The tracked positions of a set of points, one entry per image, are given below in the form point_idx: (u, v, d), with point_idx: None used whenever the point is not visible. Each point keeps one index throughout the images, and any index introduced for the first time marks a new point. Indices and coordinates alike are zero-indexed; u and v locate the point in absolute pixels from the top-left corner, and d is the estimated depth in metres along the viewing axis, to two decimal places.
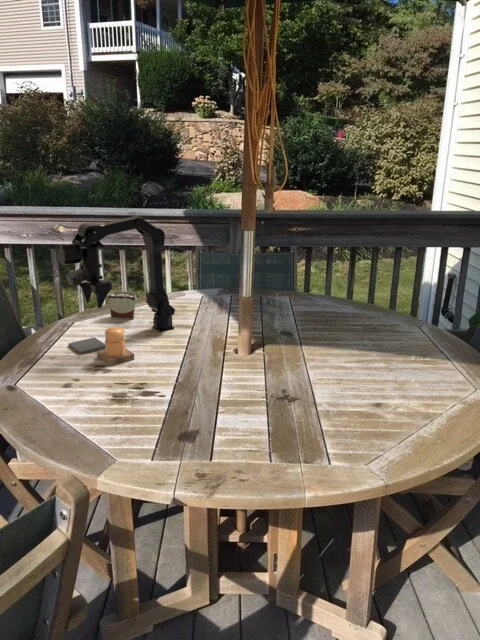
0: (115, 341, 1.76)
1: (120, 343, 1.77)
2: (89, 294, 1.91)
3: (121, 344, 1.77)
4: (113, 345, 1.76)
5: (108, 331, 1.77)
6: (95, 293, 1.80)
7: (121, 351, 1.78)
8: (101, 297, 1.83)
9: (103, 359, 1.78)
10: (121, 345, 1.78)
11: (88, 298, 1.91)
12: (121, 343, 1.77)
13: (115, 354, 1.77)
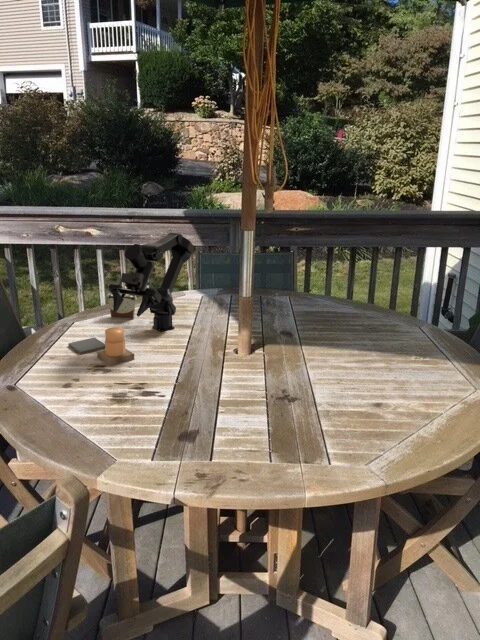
0: (115, 341, 1.76)
1: (120, 343, 1.77)
2: (118, 306, 1.86)
3: (121, 344, 1.77)
4: (113, 345, 1.76)
5: (108, 331, 1.77)
6: (147, 298, 1.81)
7: (121, 351, 1.78)
8: (145, 306, 1.83)
9: (103, 359, 1.78)
10: (121, 345, 1.78)
11: (116, 309, 1.85)
12: (121, 343, 1.77)
13: (115, 354, 1.77)
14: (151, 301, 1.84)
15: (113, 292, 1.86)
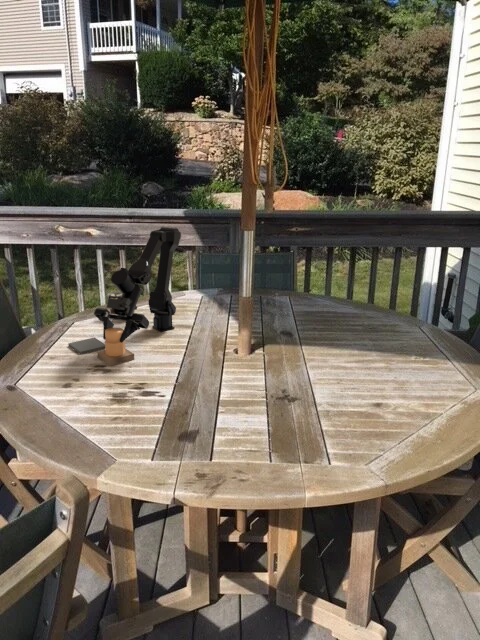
0: (115, 341, 1.76)
1: (120, 343, 1.77)
2: None
3: (121, 344, 1.77)
4: (113, 345, 1.76)
5: (108, 331, 1.77)
6: (130, 323, 1.76)
7: (121, 351, 1.78)
8: (128, 332, 1.78)
9: (103, 359, 1.78)
10: (121, 345, 1.78)
11: None
12: (121, 343, 1.77)
13: (115, 354, 1.77)
14: (135, 326, 1.79)
15: (103, 318, 1.79)
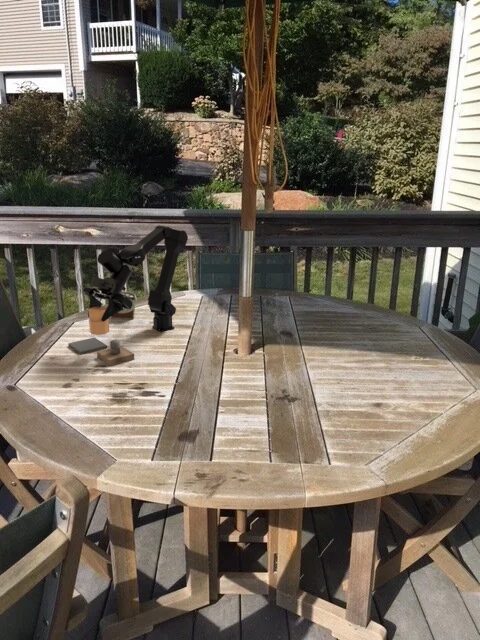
0: (97, 320, 1.77)
1: (102, 322, 1.78)
2: None
3: (103, 323, 1.78)
4: (95, 323, 1.78)
5: (92, 309, 1.78)
6: (112, 303, 1.77)
7: (103, 330, 1.79)
8: (111, 311, 1.78)
9: (103, 359, 1.78)
10: (103, 324, 1.78)
11: None
12: (103, 322, 1.78)
13: (97, 333, 1.78)
14: (118, 306, 1.79)
15: (90, 296, 1.82)
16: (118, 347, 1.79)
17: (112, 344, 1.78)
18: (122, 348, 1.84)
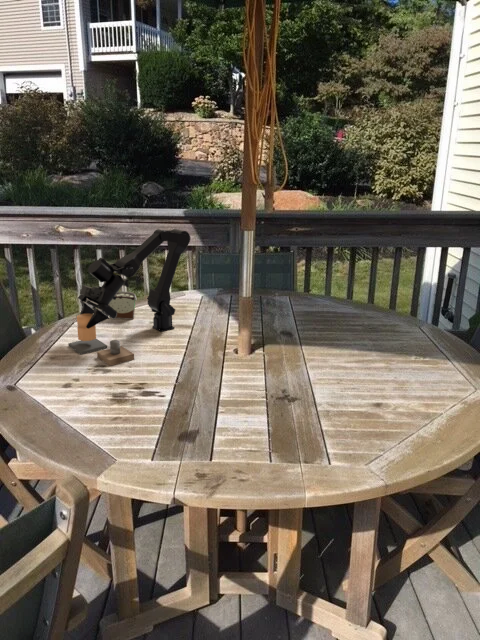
0: (82, 326, 1.84)
1: (87, 329, 1.85)
2: None
3: (88, 330, 1.85)
4: (80, 330, 1.85)
5: (80, 316, 1.86)
6: (96, 311, 1.82)
7: (88, 337, 1.86)
8: (96, 319, 1.84)
9: (103, 359, 1.78)
10: (88, 331, 1.85)
11: None
12: (88, 329, 1.85)
13: (82, 339, 1.86)
14: (103, 315, 1.84)
15: (82, 303, 1.89)
16: (118, 347, 1.79)
17: (112, 344, 1.78)
18: (122, 348, 1.84)
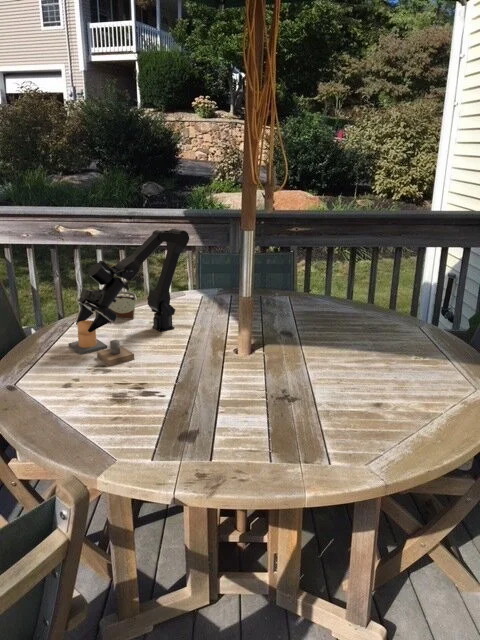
0: (82, 333, 1.85)
1: (88, 336, 1.86)
2: (82, 319, 1.91)
3: (89, 337, 1.86)
4: (81, 336, 1.86)
5: (80, 323, 1.87)
6: (98, 315, 1.82)
7: (89, 343, 1.87)
8: (98, 323, 1.84)
9: (103, 359, 1.78)
10: (89, 338, 1.86)
11: None
12: (89, 336, 1.86)
13: (83, 345, 1.86)
14: (105, 319, 1.83)
15: (80, 305, 1.91)
16: (118, 347, 1.79)
17: (112, 344, 1.78)
18: (122, 348, 1.84)
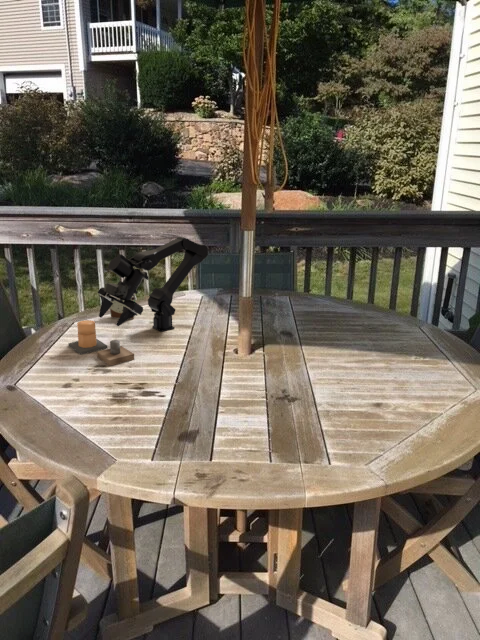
0: (82, 333, 1.85)
1: (88, 336, 1.86)
2: (105, 311, 1.95)
3: (89, 337, 1.86)
4: (81, 336, 1.86)
5: (80, 323, 1.87)
6: (126, 310, 1.88)
7: (89, 343, 1.87)
8: (125, 317, 1.90)
9: (103, 359, 1.78)
10: (89, 338, 1.86)
11: (102, 314, 1.95)
12: (89, 336, 1.86)
13: (83, 345, 1.86)
14: (132, 313, 1.90)
15: (101, 297, 1.94)
16: (118, 347, 1.79)
17: (112, 344, 1.78)
18: (122, 348, 1.84)
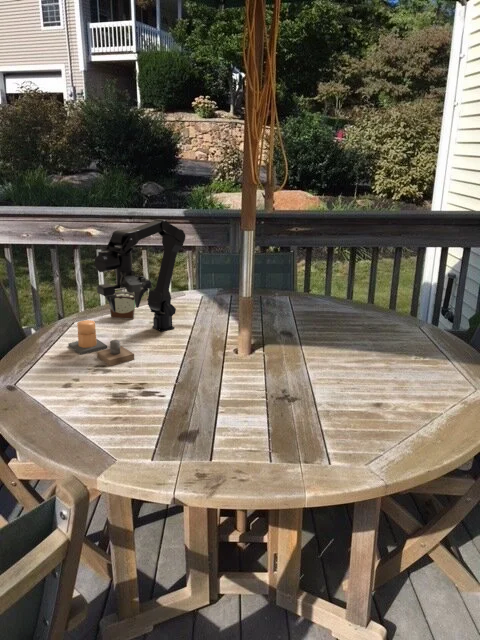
0: (82, 333, 1.85)
1: (88, 336, 1.86)
2: None
3: (89, 337, 1.86)
4: (81, 336, 1.86)
5: (80, 323, 1.87)
6: (145, 291, 1.93)
7: (89, 343, 1.87)
8: None
9: (103, 359, 1.78)
10: (89, 338, 1.86)
11: None
12: (89, 336, 1.86)
13: (83, 345, 1.86)
14: None
15: (112, 297, 1.85)
16: (118, 347, 1.79)
17: (112, 344, 1.78)
18: (122, 348, 1.84)
